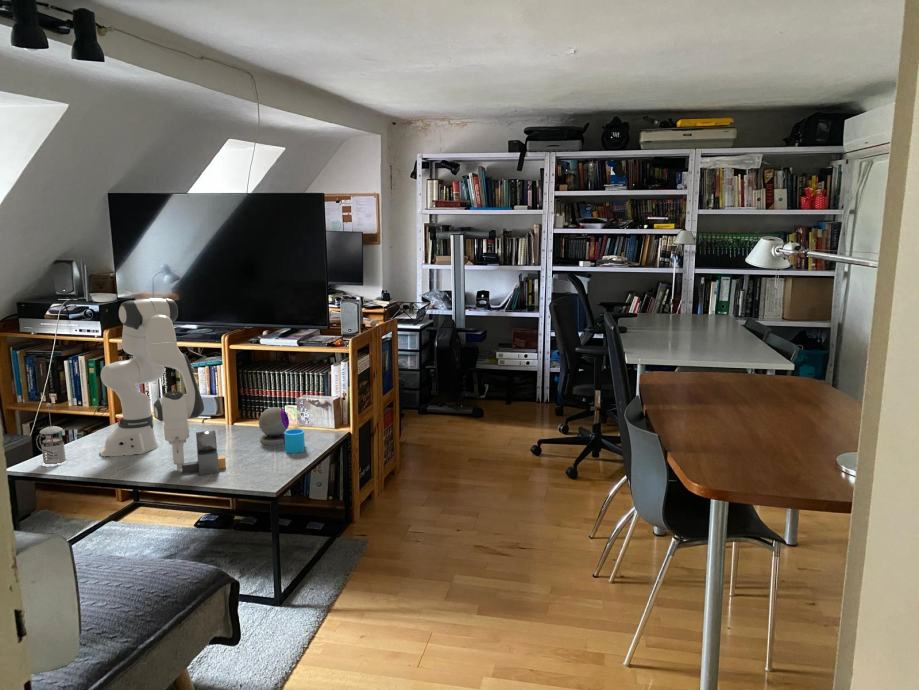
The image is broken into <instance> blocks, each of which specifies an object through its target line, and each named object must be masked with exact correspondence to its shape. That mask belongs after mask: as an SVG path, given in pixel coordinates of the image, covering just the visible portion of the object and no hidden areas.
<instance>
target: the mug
mask: <svg viewBox="0 0 919 690" xmlns="http://www.w3.org/2000/svg"><path fill="white" fill-rule="evenodd" d="M284 434H285V442H284V449H285V451H286V453H287V452H288V454H299V453H298V452H300V453H303V452H304V451H305V450H306V447H305V444H306V443H305V442H306V441H305V430H304V429H301V428H293V429H287V430H286V431H285V432H284ZM302 451H303V452H302Z"/></svg>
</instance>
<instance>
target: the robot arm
mask: <svg viewBox="0 0 919 690" xmlns="http://www.w3.org/2000/svg"><path fill="white" fill-rule="evenodd" d="M178 308H179V307H178V305H177V303H176V301H175V300H174V299H171V298H168V297H167V298H165V297H163V298H157V297H155V298H154V297H152V298H149V297H148V298H143V299H142V298H141V299H136V300H135V299H134V300H131V299H130V300H126V301H123V302H122V303H121V304H120V306H119V309H118V318H119V320H120V322H121V324H122V326H123V327H122V335H121V344H120V345H121V348H122V350H123V351H124V352H125V353H126V354H128V355H131V356H132V358H131V359H127V360H120V361H119V360H118V361H114V362H110V363H109V364H106V365H104V366H103V367H102V369H101V371H100V379H101V382H102V384H103V385H104V386H105V387H107V388H108V389H110V390H112V391H113V392H114V393H115V394H116V395H117V397H118V398H119V401H120V405H121V410H122V412H121V413H122V416H118V418H117V425H118V427H116V429H114V430H113V431H112V432H111V433H110V434H108V436H107V437H106V440H105V442H104V446H103V447H101V449H100V450H99V455H100V456H101V457H103V456H104V457H103V458H106V457H105V456H110V457H122V456H123V455H125V456H134V455H133V454H139V455H143V454H145V453H147V452H151V451H152V450H155V449H157V448H158V447H159V444H158V441H157V439H156V435H155V430H154V426H155V423H154V418H155V419H156V420H158V421H160V422H164V425H163V432H164V435H163V436H164V440H165V441H166V442H168V444H169V445H172V447H171V448H172V460H173V465H176V469H177V470H182V464H183V463H185V456H184V447H185V446H184V443H186V442H187V439H189V438H190V428H189V426H190V425H189V421H188V419H198V418H199V417H200V416H201V415H202V414H203V413H204V411H205V402H204V400H203V398H202V396H201V392H200V390H199V387H198V384H197V381H196V377H195V375H194V374H195V373H194V371H193V367H192V365H191V361H190V359H189V358H188V356H187V355H186V354H185V353H182V352H181V350H180V349H179V346H178V341H177V335H176V331H175V330H176V329H175V326H174V324H173V323H174V322H175V321H177V319H178V316H179V309H178ZM165 367H166V368H170V369H174V370H176V371H178V372H179V373H180V375H181V377H182V379H183V380H182V381H183V384H184V387H185V391H186V393H185V394H184V393H183V392H182V391H178V390H176V391H175V390H171V391H168V392H165V393H164V394H163V396H162V397H160V398H159V397H158V398H157V399H156V400H155V401H154V403H153V412H154V413H153V414H152V405H151V399H150V397H149V395H148V394H146V393H143V392H140V391H138V389H137V386H139V385H143V384H147V383H152V382H155V381H157V380H159V379H161V378H163V376H164V373H165ZM123 457H124V456H123Z"/></svg>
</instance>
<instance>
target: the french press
mask: <svg viewBox="0 0 919 690" xmlns="http://www.w3.org/2000/svg"><path fill="white" fill-rule="evenodd" d="M45 407H48V409H50V407H52V403H49V402H48V403H46V404H45ZM50 413H51V412H50V410H48V414H49V418H51V414H50ZM49 424H50V425H49V426H46V427H45V428H43V429H40V431H39V434H38V435H37V436H36V439H35V441H36V446H37V448H38V449H39V450H40V451H41V452H42V453H41V454H42V461H43V462H44V463H45V464H57V463H62V462H64V461H66V460H68V459H67V457H66V452H65V442H64V440H63V438H62V437H49V438H46V439H44V440H42V441H39V444H40V446H41V448H40V447H39V445H38V438H44V437H46V435H51V436H53V435H54V434H58V433H61V432H62V431H63V428H62V427H60V426H54V425H53V426H52V422H51V419H49ZM43 435H44V436H43ZM39 436H40V437H39ZM41 442H42V443H41ZM43 462H42V463H43Z"/></svg>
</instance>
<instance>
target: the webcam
mask: <svg viewBox="0 0 919 690" xmlns="http://www.w3.org/2000/svg"><path fill="white" fill-rule="evenodd" d="M258 419H259V420H258V426H259V428H260V430H261V432H262V433H263V435H262V434H261V436H260V437H259V442H260V443H261V444H262V445H271V446H272V445H282V444H285V434H284V432H285V431H287V430H288V429H289V426H290V420H289V416H288V413H287V412H286V411H285V409H283V408H280V407H276V406H273V407H269V408H266V409H265V410H264V411H263V412H262V413H261V414H260V416H259V418H258ZM281 443H282V444H281Z"/></svg>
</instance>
